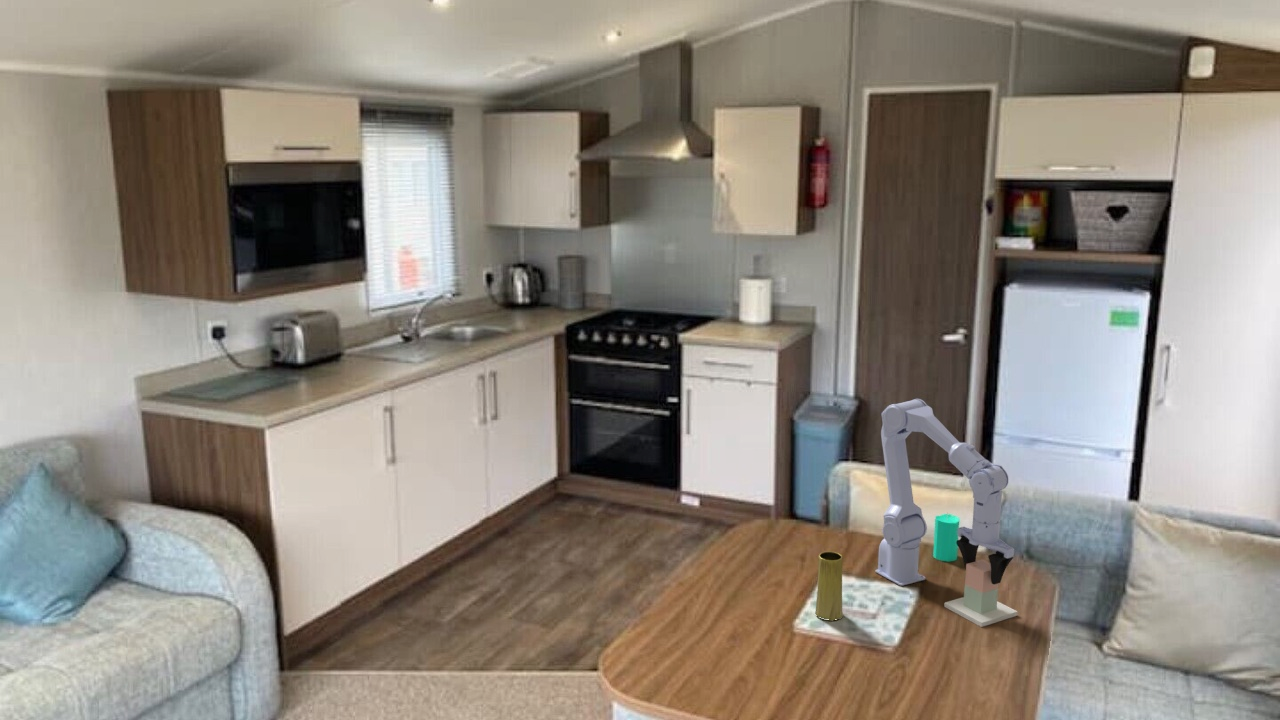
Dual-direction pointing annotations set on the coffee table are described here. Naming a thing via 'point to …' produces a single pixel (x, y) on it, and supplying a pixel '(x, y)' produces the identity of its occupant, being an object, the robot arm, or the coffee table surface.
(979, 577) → the brick top
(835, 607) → the vase
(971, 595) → the brick bottom
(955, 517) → the candle
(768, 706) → the coffee table surface
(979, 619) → the base plate
